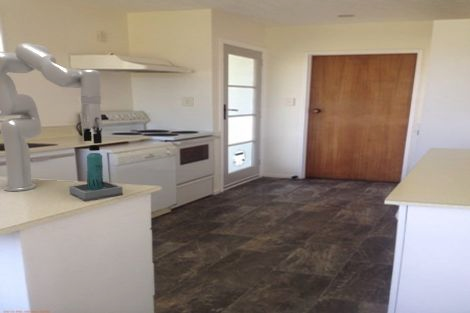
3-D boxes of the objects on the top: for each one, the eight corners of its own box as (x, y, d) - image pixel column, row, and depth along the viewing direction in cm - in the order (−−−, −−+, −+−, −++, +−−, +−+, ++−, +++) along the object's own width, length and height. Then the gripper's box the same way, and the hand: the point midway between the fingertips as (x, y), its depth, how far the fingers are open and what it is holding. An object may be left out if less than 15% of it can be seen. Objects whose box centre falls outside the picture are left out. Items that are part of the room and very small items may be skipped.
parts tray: (69, 194, 165) (69, 186, 164) (105, 188, 176) (105, 181, 175) (85, 201, 153) (84, 192, 153) (122, 194, 164) (122, 186, 164)
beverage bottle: (84, 193, 162) (82, 145, 159) (93, 190, 168) (91, 144, 166) (97, 194, 161) (96, 146, 158) (106, 191, 167) (105, 144, 164)
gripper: (73, 100, 163) (75, 140, 165) (90, 101, 150) (92, 145, 153) (91, 100, 168) (92, 139, 170) (109, 101, 155) (110, 143, 158)
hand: (92, 142), depth 162 cm, fingers open, 9 cm apart
